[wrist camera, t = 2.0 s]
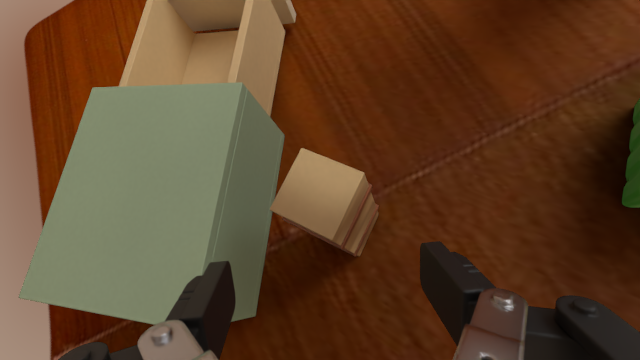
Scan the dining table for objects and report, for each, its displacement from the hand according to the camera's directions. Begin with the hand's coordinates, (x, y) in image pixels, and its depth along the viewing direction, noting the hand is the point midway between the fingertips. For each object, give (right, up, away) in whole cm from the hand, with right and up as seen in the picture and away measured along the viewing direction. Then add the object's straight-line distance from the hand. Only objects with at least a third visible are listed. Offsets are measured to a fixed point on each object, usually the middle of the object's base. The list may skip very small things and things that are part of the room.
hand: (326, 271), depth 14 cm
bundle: (+2, 0, +16) cm, 16 cm away
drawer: (-10, +17, +24) cm, 31 cm away
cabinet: (-12, 0, +20) cm, 23 cm away
